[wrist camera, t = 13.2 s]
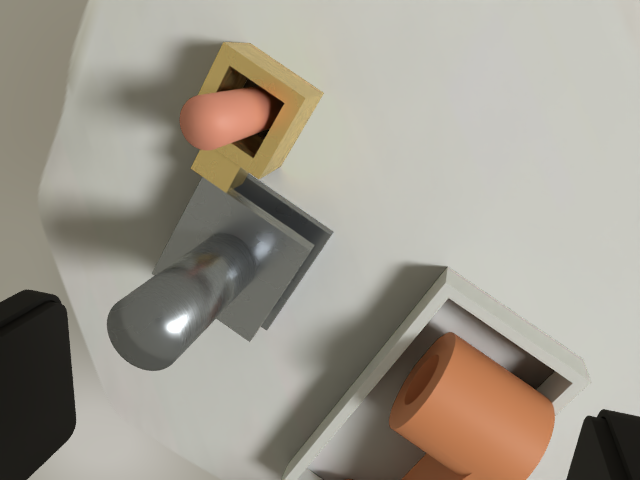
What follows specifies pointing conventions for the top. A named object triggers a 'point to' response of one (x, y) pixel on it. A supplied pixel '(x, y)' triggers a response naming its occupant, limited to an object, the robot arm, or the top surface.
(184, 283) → the yellow and grey fixture
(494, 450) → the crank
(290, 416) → the top surface
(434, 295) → the pipe rack
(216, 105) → the pin
